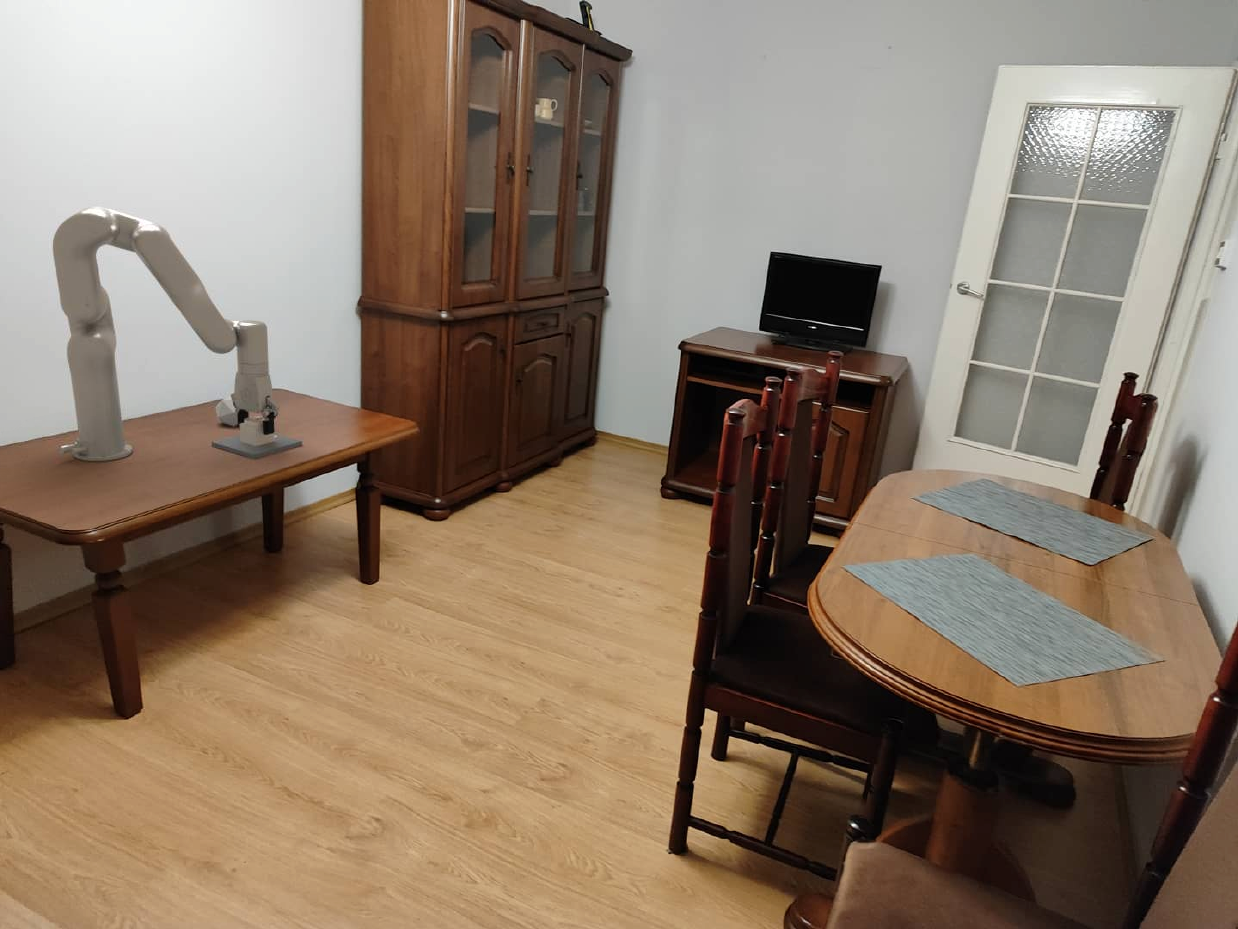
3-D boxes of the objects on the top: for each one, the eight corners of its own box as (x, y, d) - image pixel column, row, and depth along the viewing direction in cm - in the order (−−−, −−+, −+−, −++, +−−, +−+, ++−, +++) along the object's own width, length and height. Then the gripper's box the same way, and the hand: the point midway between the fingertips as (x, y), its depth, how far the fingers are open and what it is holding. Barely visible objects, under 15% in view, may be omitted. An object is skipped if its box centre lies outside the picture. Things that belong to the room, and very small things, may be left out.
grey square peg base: (253, 459, 213) (252, 439, 211) (211, 446, 219) (210, 427, 217) (302, 445, 226) (301, 427, 225) (261, 433, 233) (260, 415, 231)
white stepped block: (256, 446, 219) (254, 422, 217) (240, 441, 221) (239, 418, 219) (274, 441, 224) (273, 418, 222) (259, 436, 226) (257, 414, 224)
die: (226, 420, 244) (206, 398, 236) (253, 407, 245) (234, 385, 237) (229, 437, 238) (209, 415, 231) (256, 423, 239) (237, 401, 232)
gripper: (218, 364, 216) (222, 426, 222) (264, 376, 209) (267, 439, 215) (242, 360, 223) (245, 421, 228) (288, 371, 216) (290, 433, 221)
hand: (256, 430), depth 221 cm, fingers open, 9 cm apart
